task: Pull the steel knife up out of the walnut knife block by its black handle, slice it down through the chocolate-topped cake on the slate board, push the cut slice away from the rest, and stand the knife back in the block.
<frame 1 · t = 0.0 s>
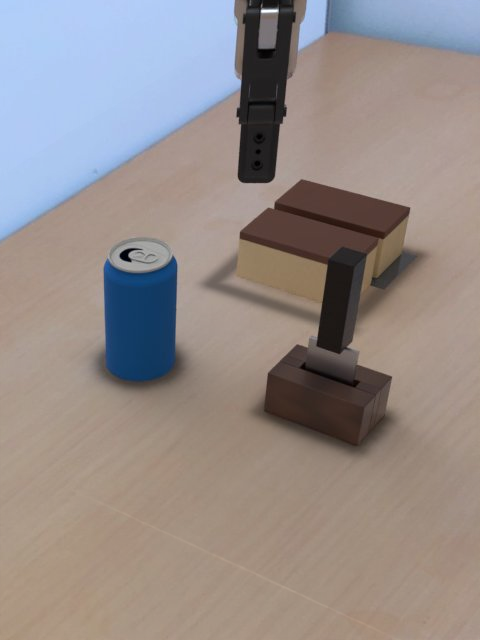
hand: (258, 147, 69), 30 cm above the table, tool pointing down, fingers open, 8 cm apart
cake slice: (302, 280, 110), point 1 cm above the table, touching cake board
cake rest: (334, 250, 113), point 1 cm above the table, touching cake board
beverage can: (140, 370, 105), on the table
knife: (323, 412, 96), point 1 cm above the table, touching knife block
knife block: (322, 421, 97), on the table
cake board: (313, 277, 112), on the table
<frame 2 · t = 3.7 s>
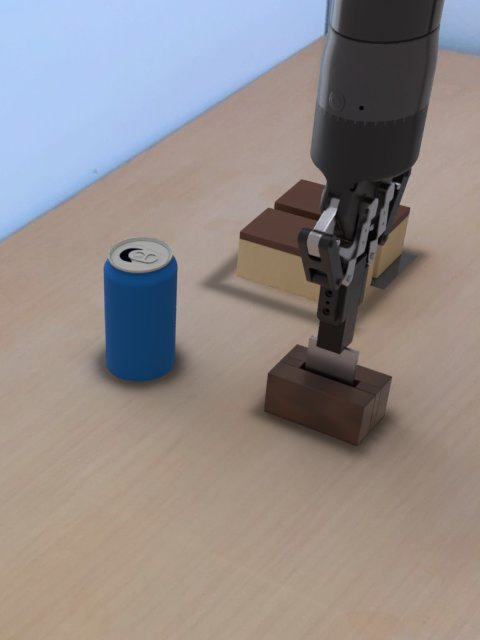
hand: (339, 311, 89), 11 cm above the table, tool pointing down, fingers closed on knife, 2 cm apart
knife: (323, 412, 96), point 1 cm above the table, touching gripper, knife block
everything else where it was.
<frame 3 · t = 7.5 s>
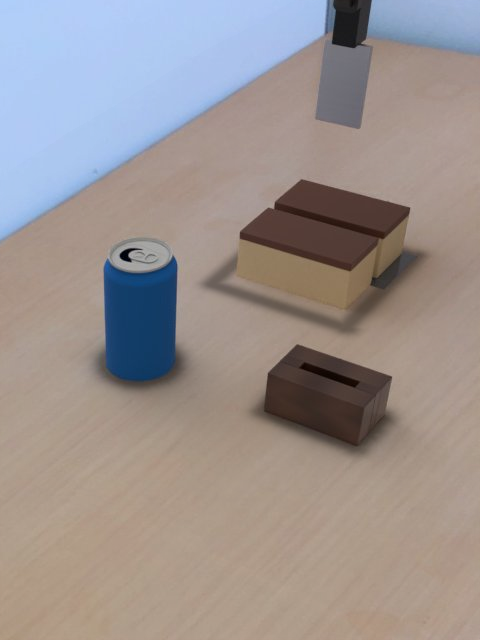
hand: (354, 3, 93), 26 cm above the table, tool pointing down, fingers closed on knife
knife: (337, 123, 100), point 15 cm above the table, touching gripper
everything else where it was.
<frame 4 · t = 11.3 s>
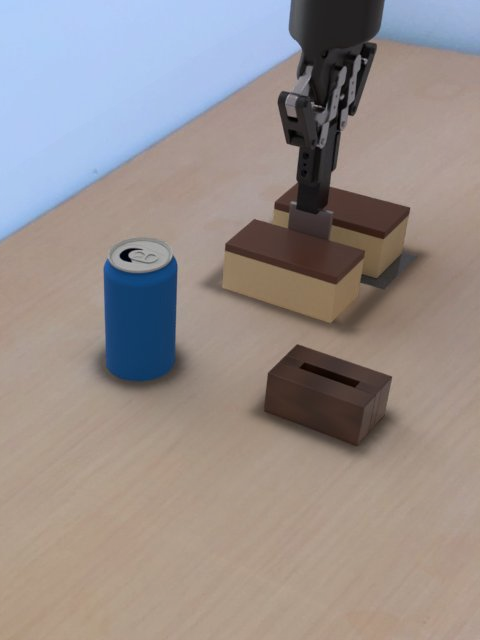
hand: (316, 176, 102), 11 cm above the table, tool pointing down, fingers closed on knife, 2 cm apart
cake slice: (288, 293, 109), point 1 cm above the table, touching cake board, knife
knife: (304, 273, 110), point 1 cm above the table, touching cake slice, gripper
everything else where it was.
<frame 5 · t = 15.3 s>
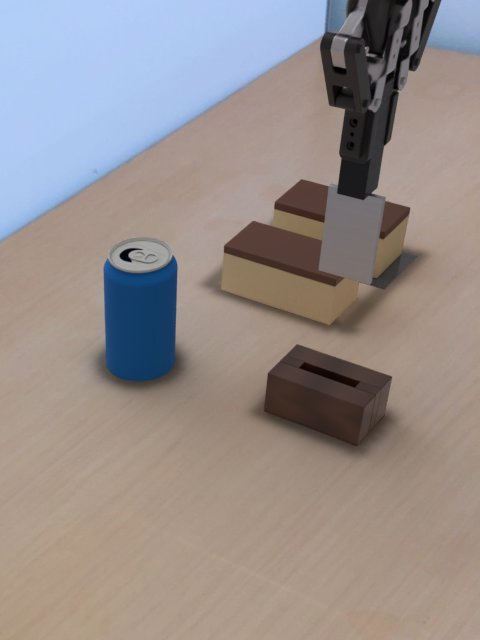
hand: (364, 150, 79), 24 cm above the table, tool pointing down, fingers closed on knife
cake slice: (287, 295, 109), point 1 cm above the table, touching cake board
knife: (344, 276, 86), point 14 cm above the table, touching gripper
everything else where it was.
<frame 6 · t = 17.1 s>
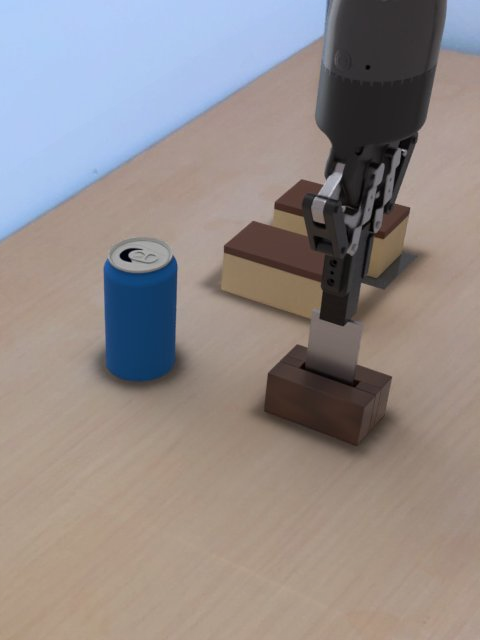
hand: (344, 282, 87), 14 cm above the table, tool pointing down, fingers closed on knife
knife: (327, 388, 94), point 4 cm above the table, touching gripper
everything else where it was.
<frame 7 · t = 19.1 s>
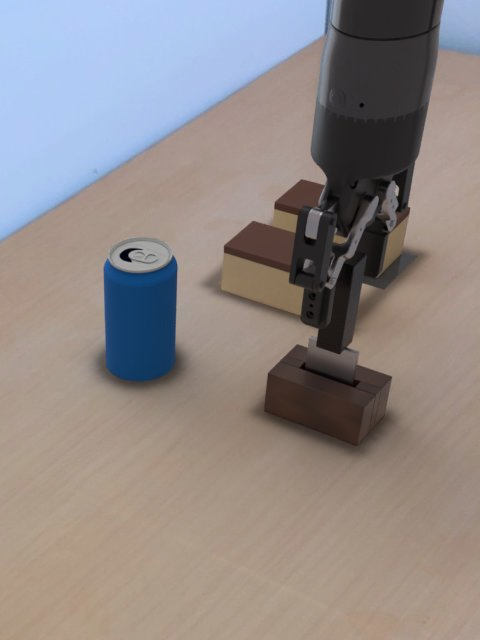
hand: (341, 298, 88), 12 cm above the table, tool pointing down, fingers open, 8 cm apart
knife: (323, 412, 96), point 1 cm above the table, touching knife block
everything else where it was.
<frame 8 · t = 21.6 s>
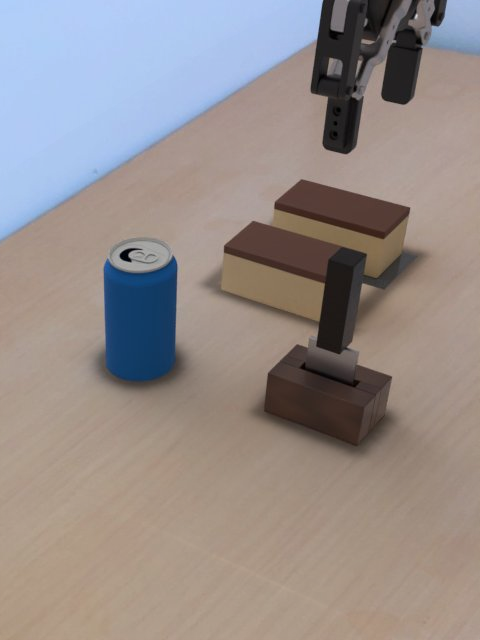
hand: (368, 124, 77), 26 cm above the table, tool pointing down, fingers open, 8 cm apart
nothing on the table moved.
at the end: cake slice moved 3.0 cm from its start; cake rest moved 0.0 cm from its start; knife 0.0 cm off-centre on the knife block, point 1.0 cm above the knife block's base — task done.
